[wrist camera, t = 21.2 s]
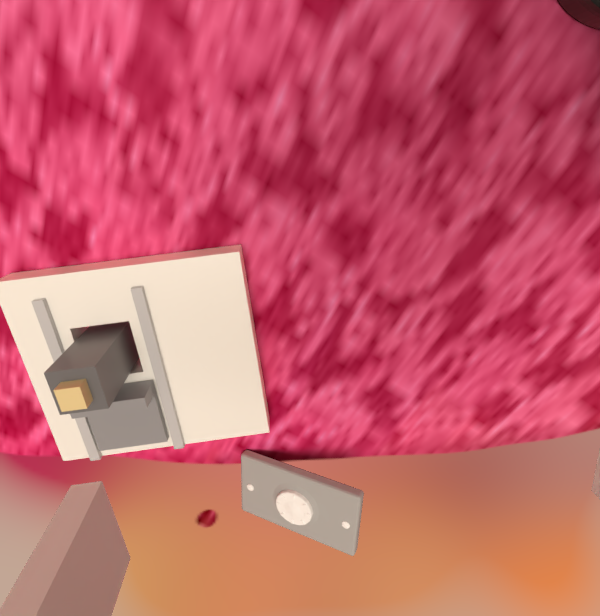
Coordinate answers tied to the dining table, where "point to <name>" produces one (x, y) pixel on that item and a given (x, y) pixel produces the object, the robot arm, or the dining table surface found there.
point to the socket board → (150, 340)
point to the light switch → (301, 501)
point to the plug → (93, 368)
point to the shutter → (129, 418)
